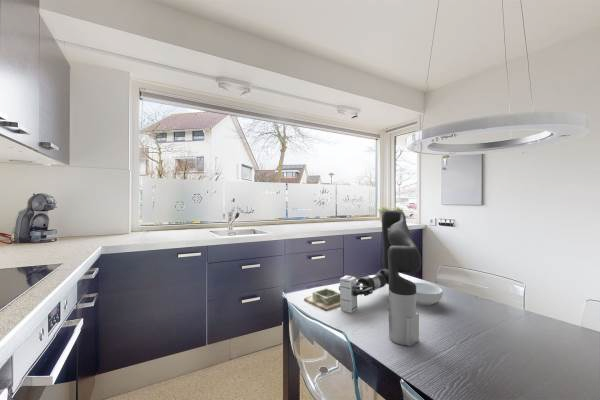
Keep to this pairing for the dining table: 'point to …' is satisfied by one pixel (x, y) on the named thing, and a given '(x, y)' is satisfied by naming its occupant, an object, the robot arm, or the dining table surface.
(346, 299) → the syrup box
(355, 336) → the dining table surface
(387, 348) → the dining table surface
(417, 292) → the cereal bowl
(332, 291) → the socket
